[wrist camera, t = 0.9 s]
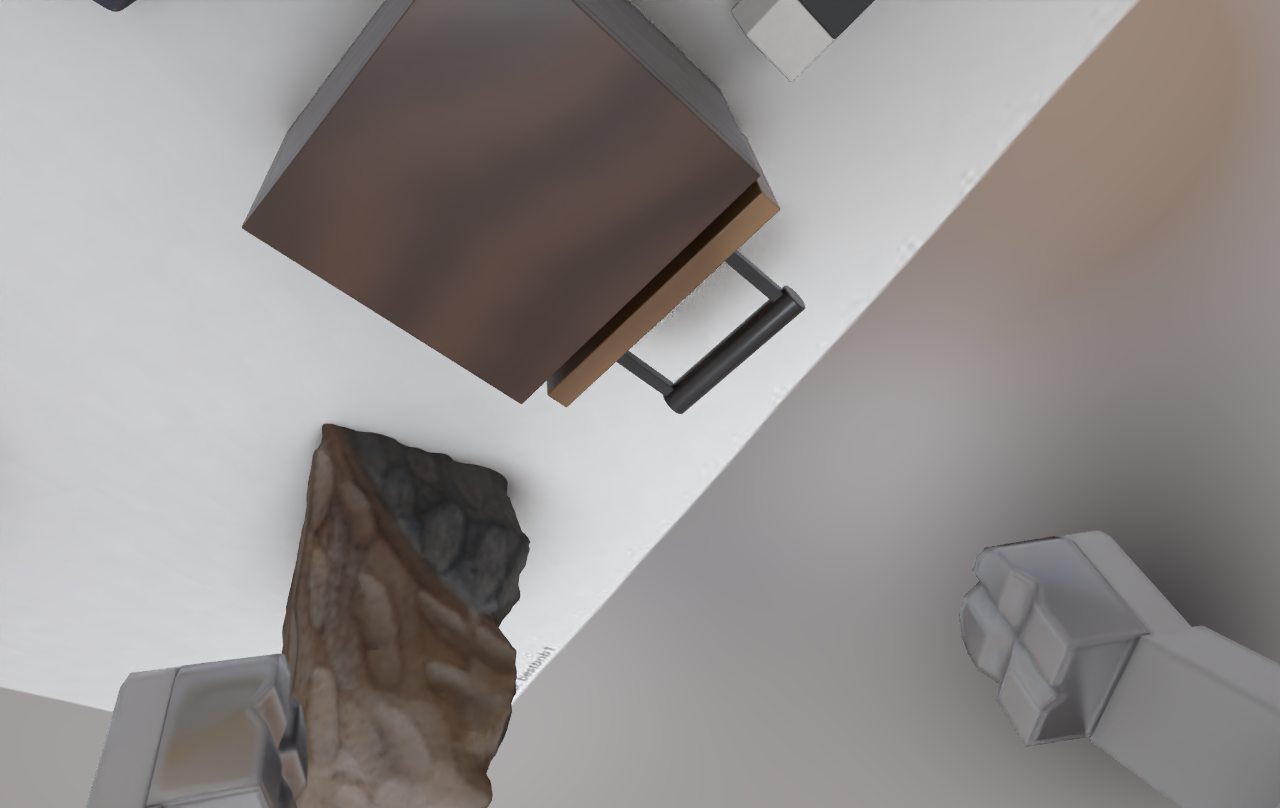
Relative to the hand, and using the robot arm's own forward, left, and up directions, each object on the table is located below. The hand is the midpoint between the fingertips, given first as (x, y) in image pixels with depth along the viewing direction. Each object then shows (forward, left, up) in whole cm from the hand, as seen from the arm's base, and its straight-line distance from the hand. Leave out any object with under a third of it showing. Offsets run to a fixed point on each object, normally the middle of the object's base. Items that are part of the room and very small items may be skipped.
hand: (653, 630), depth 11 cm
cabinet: (+7, +3, -36) cm, 36 cm away
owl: (+30, +13, -36) cm, 49 cm away
